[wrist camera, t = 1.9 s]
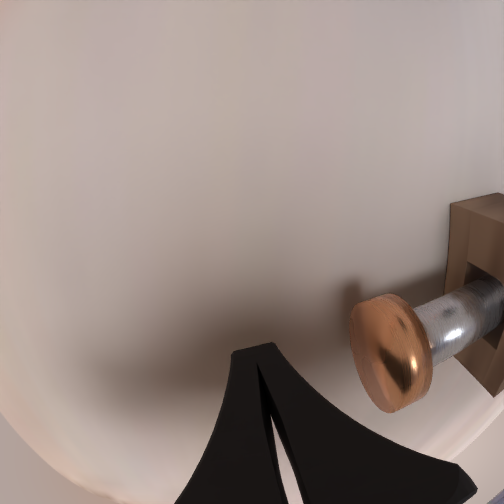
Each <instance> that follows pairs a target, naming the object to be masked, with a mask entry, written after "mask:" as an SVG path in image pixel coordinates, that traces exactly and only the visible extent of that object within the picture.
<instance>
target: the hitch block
mask: <svg viewBox="0 0 504 504" xmlns="http://www.w3.org/2000/svg"><path fill="white" fill-rule="evenodd" d="M486 275H490V276H493V277H495V278H497V279H498V280H499V281H500V282H501V283H502V284H503V286H504V194H501V193H494V194H490V195H486V196H481V197H477V198H473V199H468V200H464V201H460V202H455V203H451V215H450V239H449V253H448V263H447V273H446V281H445V288H444V295H446V294H448V293H450V292H452V291H454V290H456V289H458V288H460V287H463V286H465V285H467V284H469V283H471V282H473V281H475V280H477V279H479V278H481V277H483V276H486ZM453 356H454V357H455V358H456V359H457V360H458V361H459V362H460V363H461V364H462V365H463V366H464V367H465V368H466V369H467V370H468V371H469V372H470V373H471V374H472V375H473V376H474V377H475V378H476V379H477V380H478V381H479V382H480V383H481V385H482V386H483V387H484V388H485V389H486V390H487V391H488V392H489V393H490V394H491V395H492V396H493V397H495V396H496V395H498V394H499V393H500V392H501V391H502V390H503V389H504V322H503V323H502V324H500V325H499V326H498V327H496V328H495V329H493V330H492V331H490V332H489V333H488V334H486V335H485V336H483V337H482V338H480V339H479V340H477V341H476V342H474V343H472V344H471V345H469V346H468V347H466V348H465V349H463V350H461V351H460V352H458V353H456V354H455V355H453Z"/></svg>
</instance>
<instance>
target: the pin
mask: <svg viewBox="0 0 504 504" xmlns="http://www.w3.org/2000/svg"><path fill="white" fill-rule="evenodd" d="M503 322H504V286H503V284H502V283H501V282H500V281H499V280H498V279H497V278H495V277H493V276H490V275H486V276H483V277H481V278H479V279H477V280H475V281H473V282H471V283H469V284H467V285H465V286H463V287H460V288H458V289H456V290H454V291H452V292H450V293H448V294H446V295H443V296H441V297H439V298H437V299H434V300H432V301H430V302H428V303H425V304H423V305H421V306H418V307H416V308H413V309H412V308H411V306H410V305H409V304H408V303H407V302H406V301H405V300H403V299H402V298H401V297H399V296H397V295H394V294H384V295H381V296H378V297H375V298H372V299H369V300H366V301H363V302H360V303H358V304H356V305H355V306H354V307H353V309H352V312H351V315H350V322H349V333H350V342H351V348H352V353H353V358H354V361H355V365H356V368H357V371H358V374H359V376H360V379H361V381H362V384H363V386H364V388H365V390H366V392H367V393H368V395H369V397H370V398H371V400H372V401H373V402H374V404H375V405H376V406H377V407H378V408H379V409H381V410H382V411H384V412H386V413H393V412H395V411H397V410H400V409H402V408H404V407H406V406H408V405H410V404H412V403H414V402H415V401H417V400H419V399H421V398H422V397H424V396H425V394H426V393H427V391H428V389H429V387H430V384H431V380H432V373H433V366H435V365H437V364H439V363H441V362H443V361H444V360H446V359H448V358H450V357H451V356H453V355H455V354H456V353H458V352H460V351H461V350H463V349H465V348H466V347H468V346H469V345H471V344H472V343H474V342H476V341H477V340H479V339H480V338H482V337H483V336H485V335H486V334H488V333H489V332H490V331H492V330H493V329H495V328H496V327H498V326H499V325H500V324H502V323H503Z"/></svg>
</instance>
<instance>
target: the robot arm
mask: <svg viewBox="0 0 504 504" xmlns="http://www.w3.org/2000/svg"><path fill="white" fill-rule="evenodd" d="M270 414H271V415H270ZM271 417H272V419H273V422H274V424H275V427H276V429H277V432H278V434H279V437H280V439H281V442H282V444H283V447H284V449H285V452H286V454H287V457H288V459H289V461H290V464H291V466H292V469H293V472H294V474H295V477H296V480H297V484H298V487H299V490H300V494H301V497H302V500H303V503H304V504H463V503H464V502H466V501H467V500H468V499H470V498H471V497H472V496H473V495H474V494H476V492H477V489H478V488H477V487H476V485H475V484H474V482H473V481H472V479H471V478H470V477H469V476H468V475H467V474H466V473H465V471H464V470H463V469H461V467H460V466H459V465H458V464H455V463H451V462H447V461H444V460H440V459H437V458H433V457H430V456H427V455H424V454H421V453H419V452H416V451H414V450H411V449H409V448H406V447H404V446H401V445H399V444H397V443H395V442H393V441H391V440H389V439H387V438H385V437H383V436H381V435H379V434H377V433H375V432H373V431H371V430H370V429H368V428H366V427H365V426H363V425H361V424H360V423H358V422H357V421H355V420H353V419H352V418H351V417H349V416H348V415H346V414H345V413H343V412H342V411H341V410H339V409H338V408H337V407H335V406H334V405H333V404H331V403H330V402H329V401H328V400H327V399H325V398H324V397H323V396H322V395H321V394H319V393H318V392H317V391H316V390H315V389H314V388H313V387H312V386H311V385H310V384H309V383H308V382H307V381H306V380H305V379H304V378H303V377H302V376H301V375H300V374H299V373H298V372H297V371H296V370H295V369H294V368H293V367H292V366H291V364H290V363H289V362H288V361H287V360H286V358H285V357H284V356H283V354H282V353H281V352H280V350H279V349H278V347H277V346H276V344H275V343H273V342H270V343H266V344H262V345H258V346H254V347H250V348H246V349H241V350H237V351H234V352H233V353H232V354H231V365H230V372H229V377H228V383H227V387H226V391H225V395H224V399H223V403H222V406H221V409H220V412H219V415H218V418H217V421H216V424H215V427H214V430H213V432H212V435H211V438H210V440H209V442H208V445H207V447H206V449H205V451H204V453H203V456H202V458H201V460H200V462H199V464H198V465H197V467H196V469H195V471H194V473H193V475H192V477H191V478H190V480H189V482H188V484H187V485H186V487H185V488H184V490H183V491H182V493H181V494H180V496H179V497H178V499H177V500H176V502H175V503H174V504H288V500H287V497H286V493H285V490H284V486H283V483H282V479H281V474H280V470H279V464H278V458H277V452H276V445H275V439H274V433H273V427H272V421H271ZM487 504H504V489H503V490H502V491H501V492H500V493H499V494H497V495H496V496H495V497H494V498H493V499H492V500H491V501H489V502H488V503H487Z"/></svg>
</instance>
